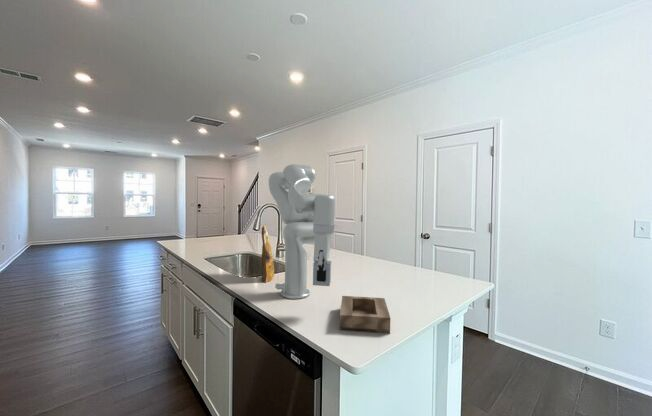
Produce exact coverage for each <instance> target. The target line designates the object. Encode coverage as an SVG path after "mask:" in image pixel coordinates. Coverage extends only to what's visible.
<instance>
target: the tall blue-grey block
mask: <svg viewBox="0 0 652 416" xmlns="http://www.w3.org/2000/svg"><path fill="white" fill-rule="evenodd" d="M323 262H324V261H323ZM317 265H318V259H317V261H316V262H314V261H313V263H312V267H313V268H312V271H313V272H312V286H317V287H318V286H319V287H321V286H322V287H331V286H330V285H331V280H332V279H331V278H332V261H331V260H328V261H327V262H326V265H325V270H326V281H325V282H321V281H317ZM323 265H324V263H323Z"/></svg>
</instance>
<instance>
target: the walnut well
mask: <svg viewBox="0 0 652 416" xmlns="http://www.w3.org/2000/svg"><path fill="white" fill-rule="evenodd" d="M339 310H340V311H339V331H345V332H346V331H348V332H349V331H350V332H362V333H374V334H376V333H377V334H378V333H379V334H389V335H390V334H391V315H390V312H389V309H388V305H387V302H386V298H385V297H371V296H370V297H368V296H353V295H342V296H341V304H340V309H339Z"/></svg>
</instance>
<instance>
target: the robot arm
mask: <svg viewBox="0 0 652 416" xmlns="http://www.w3.org/2000/svg"><path fill="white" fill-rule="evenodd" d="M315 179H316V172H315V169H314V168H313V167H312V166H311V165H305V164H303V165H302V164H288V165H286V166H285V167H284V168H283V171H276V172H273V173H271V174H270V175H269V178H268V187H269V192H270V194H271V196H272V198H273V200H274V201H275V203H276V205H277V208H278V212H279V215H280V218H281V220H282V222H283V224H284V227H283V231H282V232H283V233H282V234H283V240H284V253H285V254H284V258H285V259H284V282H283V283H275V286H274V288H275V289H276V290H281V292H280V296H282V297H283V298H286V299H290V300H291V299H292V300H294V299H295V300H298V299H304V298H307V297H309V296H310V295H311V291H310V289H308V288H307V285H308V284H307V276H308V275H307V274H308V271H307V270H308V269H307V268H308V254H307V251H306V249H305V248H304V247H303V245H304V244H305V245H306V244H314V245H313V246H314V247H313V249H314V250H313V263H314V262H316V261H317V260H318V265H317V281H321V282H325V281H326V270H325V265H326V262H327V261H329V258H330V252H331V238H332V237H331V235H334V234H335V212H336V211H335V210H336V209H335V208H336V198H335V196H334V195H329V194H321V193H308V192H309V191H310V189H311V187H312V184H313V183H314V181H315ZM287 190H288V191H287ZM323 261H324V262H323ZM323 263H324V265H323Z"/></svg>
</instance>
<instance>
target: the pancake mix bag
mask: <svg viewBox="0 0 652 416" xmlns="http://www.w3.org/2000/svg"><path fill="white" fill-rule="evenodd" d="M261 239H262V247H261V248H262V249H261V260H260V261H261V267H260V268H261V270H260V271H261V282H263V283H267V282H271V281H272V280H273V278H274V276H275V265H274V258H273V257H274V256H273V251H272V246H271V241H270V236H269V233H268V230H267V227H266V223H265V224H264V225H263V226H262V227H261Z"/></svg>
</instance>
